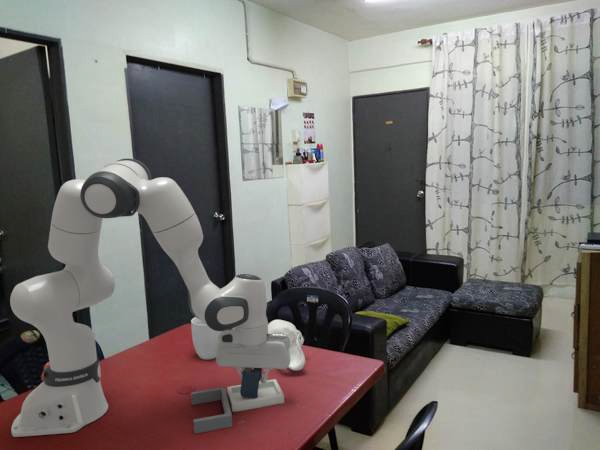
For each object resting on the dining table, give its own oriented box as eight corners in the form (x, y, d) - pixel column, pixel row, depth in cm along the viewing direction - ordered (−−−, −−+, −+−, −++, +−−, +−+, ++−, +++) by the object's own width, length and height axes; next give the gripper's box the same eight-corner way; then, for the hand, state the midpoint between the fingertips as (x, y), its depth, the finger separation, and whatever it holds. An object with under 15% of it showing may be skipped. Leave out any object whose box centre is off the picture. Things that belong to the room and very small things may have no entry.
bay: (194, 433, 111) (193, 422, 110) (191, 402, 125) (190, 392, 125) (232, 426, 113) (231, 415, 113) (225, 397, 128) (224, 386, 127)
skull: (322, 359, 140) (301, 342, 159) (300, 320, 138) (281, 308, 157) (287, 384, 137) (270, 364, 156) (263, 344, 135) (249, 329, 154)
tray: (232, 412, 120) (231, 404, 119) (227, 394, 129) (227, 386, 129) (284, 403, 123) (283, 395, 123) (276, 386, 133) (275, 379, 133)
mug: (183, 351, 160) (181, 315, 159) (212, 343, 167) (210, 309, 165) (202, 365, 149) (199, 327, 147) (232, 356, 155) (229, 319, 153)
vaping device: (258, 399, 125) (263, 357, 123) (239, 397, 125) (244, 355, 123) (259, 394, 127) (264, 353, 126) (240, 392, 127) (245, 351, 126)
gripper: (291, 330, 125) (293, 378, 126) (220, 328, 128) (223, 374, 130) (287, 338, 118) (289, 389, 120) (212, 336, 122) (215, 385, 124)
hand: (254, 381), depth 125 cm, fingers closed on vaping device, 4 cm apart
